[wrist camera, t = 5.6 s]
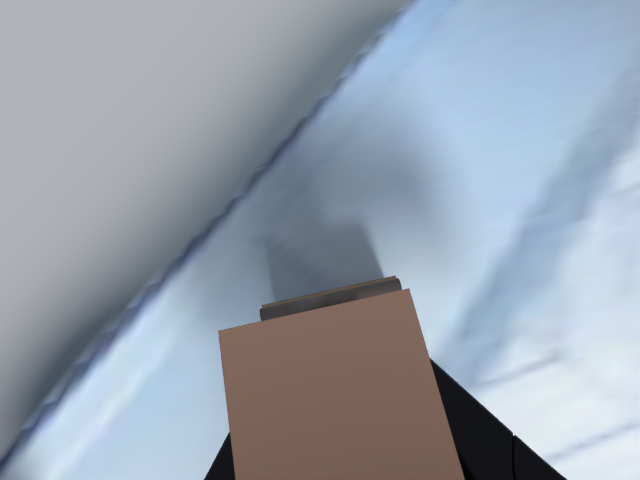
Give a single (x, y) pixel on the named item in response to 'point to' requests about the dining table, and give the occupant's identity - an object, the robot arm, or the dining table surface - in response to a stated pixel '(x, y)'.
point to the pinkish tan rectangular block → (337, 396)
